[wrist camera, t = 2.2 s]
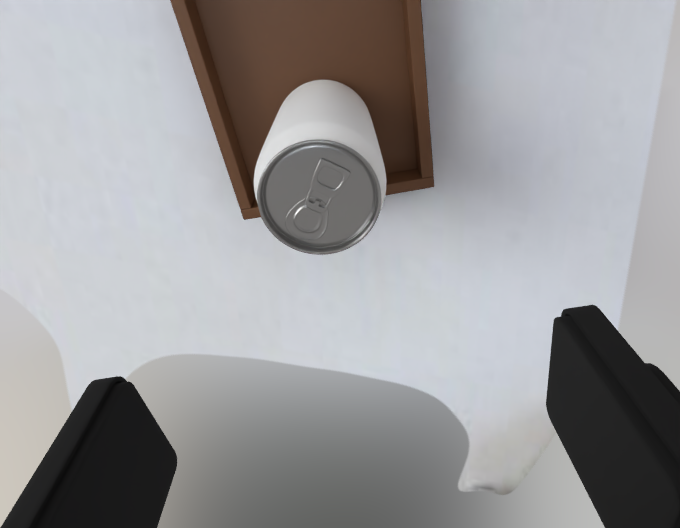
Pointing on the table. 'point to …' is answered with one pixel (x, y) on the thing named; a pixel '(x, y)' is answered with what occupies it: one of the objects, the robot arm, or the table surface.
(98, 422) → the robot arm
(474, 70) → the table surface
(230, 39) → the tray
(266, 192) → the can
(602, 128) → the table surface
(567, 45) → the table surface
